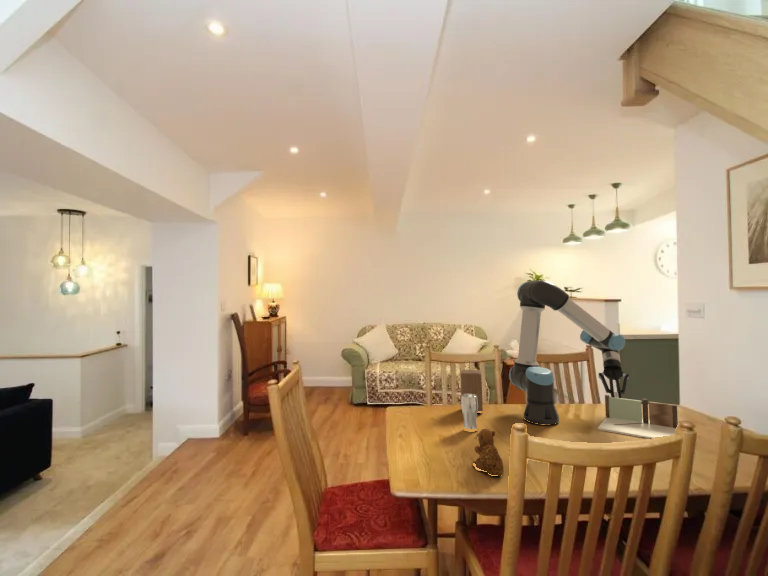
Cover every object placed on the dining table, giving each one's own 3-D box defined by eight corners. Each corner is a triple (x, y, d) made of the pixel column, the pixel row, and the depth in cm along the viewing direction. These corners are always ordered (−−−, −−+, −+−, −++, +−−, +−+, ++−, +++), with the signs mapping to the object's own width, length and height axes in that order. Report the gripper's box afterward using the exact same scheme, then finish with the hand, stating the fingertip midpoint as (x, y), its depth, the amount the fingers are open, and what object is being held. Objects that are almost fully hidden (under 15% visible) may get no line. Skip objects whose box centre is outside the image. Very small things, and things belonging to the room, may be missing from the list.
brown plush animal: (498, 462, 136) (496, 424, 136) (512, 481, 122) (511, 439, 122) (469, 463, 136) (468, 425, 136) (481, 482, 122) (479, 440, 122)
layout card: (597, 429, 164) (597, 427, 164) (609, 415, 183) (609, 413, 183) (677, 443, 147) (677, 441, 147) (681, 426, 165) (681, 424, 165)
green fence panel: (605, 417, 177) (604, 395, 177) (606, 416, 178) (605, 394, 178) (641, 422, 169) (640, 400, 169) (642, 421, 170) (641, 399, 170)
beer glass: (465, 426, 173) (464, 392, 173) (480, 429, 170) (479, 394, 170) (459, 431, 167) (458, 396, 167) (475, 434, 164) (474, 398, 164)
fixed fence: (642, 425, 168) (641, 399, 168) (643, 423, 170) (642, 398, 170) (677, 430, 160) (676, 403, 161) (678, 429, 162) (677, 402, 162)
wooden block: (461, 413, 192) (460, 373, 192) (462, 408, 201) (461, 369, 202) (482, 414, 189) (481, 373, 190) (482, 408, 199) (481, 369, 199)
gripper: (626, 367, 191) (633, 411, 176) (596, 366, 197) (600, 409, 182) (628, 358, 187) (635, 403, 171) (596, 357, 192) (601, 400, 177)
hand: (617, 406), depth 176 cm, fingers closed
